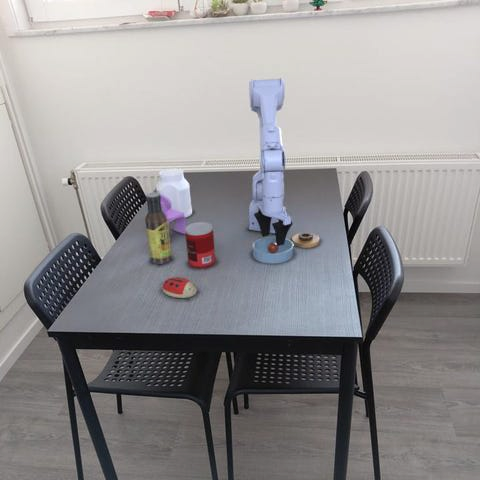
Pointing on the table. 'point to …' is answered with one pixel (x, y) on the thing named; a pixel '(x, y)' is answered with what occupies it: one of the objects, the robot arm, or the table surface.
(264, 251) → the light blue bowl
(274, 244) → the ball
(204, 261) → the canned food
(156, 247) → the sauce bottle
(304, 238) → the holder
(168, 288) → the ladybug figurine
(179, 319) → the table surface
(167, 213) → the toy chair
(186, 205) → the jar
